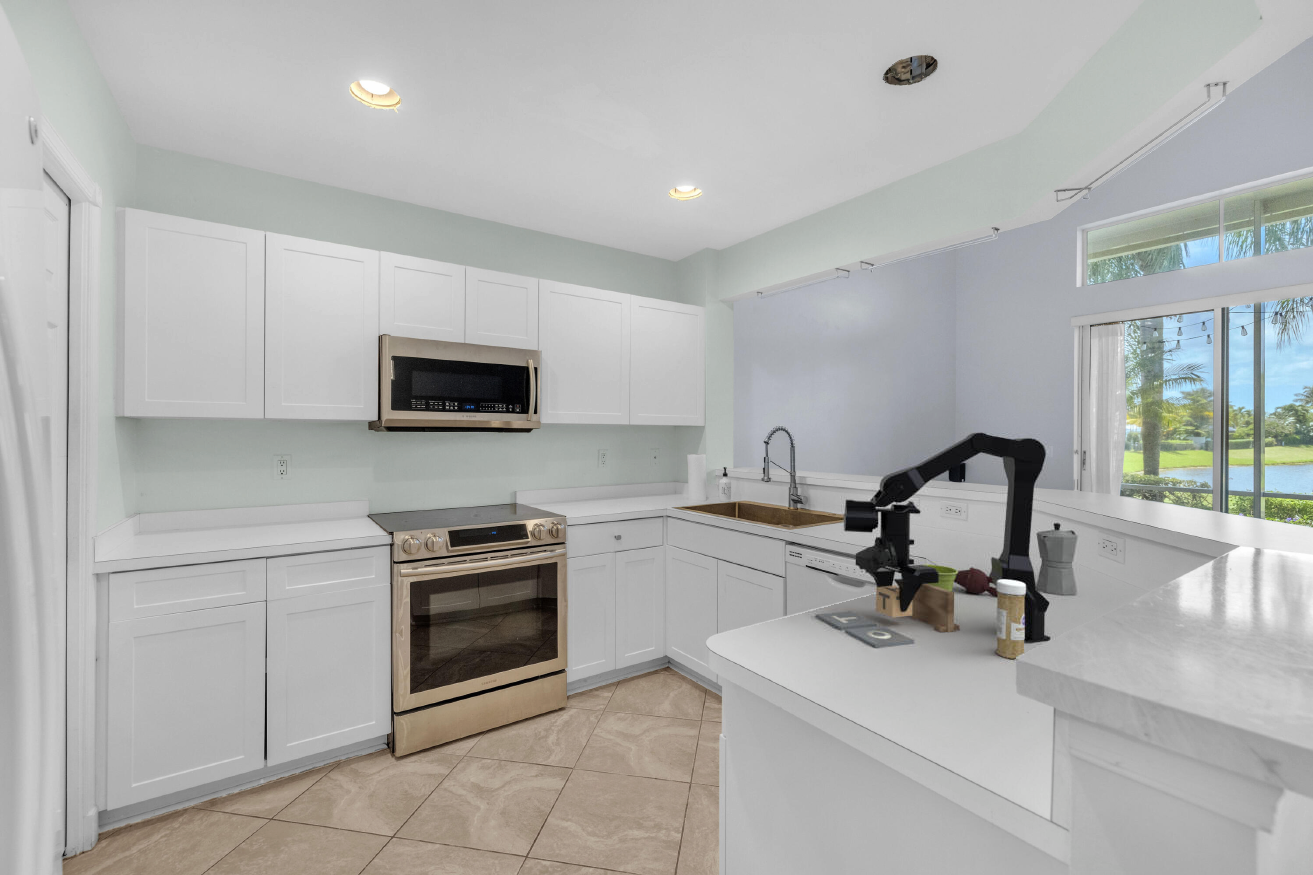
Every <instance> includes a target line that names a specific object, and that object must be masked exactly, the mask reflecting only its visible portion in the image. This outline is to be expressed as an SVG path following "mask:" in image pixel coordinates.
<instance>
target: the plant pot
mask: <svg viewBox="0 0 1313 875" xmlns="http://www.w3.org/2000/svg"><path fill="white" fill-rule="evenodd" d="M924 565H925V566H929V567H932V568H935V569H936V570H937V571H938V572H939V583H929V584H930V585H933V586H936V587H939V588H942V589H946V590H949V591H952V592H953V587H954V583H955V582H954V579H955V577H956V574H957V573H958V571H959V570H958V569H956V568H953V567H950V566H947V565H946V566H945V565H939V564H938V565H936V564H924Z"/></svg>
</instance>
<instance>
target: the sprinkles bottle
mask: <svg viewBox="0 0 1313 875" xmlns="http://www.w3.org/2000/svg"><path fill="white" fill-rule="evenodd" d="M995 588H996V590H997V594H998V595H997V597H996V598H997V600H996V602H997V603H996V604H997V606H996V637H997V638H996V650H995V652H996V654H997V655H999V656H1001V657H1004V658H1005V659H1006V658H1007V659H1012V660H1016V659H1015V658H1016V657H1018V656H1019V655H1021V654H1023V653H1024V654H1025V642H1024V639H1025V614H1024V597H1025V595H1024V594H1026V585H1025V584H1024V583H1023V582H1020V581H1015V580H1006V579H1001V580H997V585H996V587H995Z"/></svg>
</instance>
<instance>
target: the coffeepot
mask: <svg viewBox="0 0 1313 875" xmlns="http://www.w3.org/2000/svg"><path fill="white" fill-rule="evenodd" d="M1061 525H1062V524H1061V523H1059V522H1055V523H1053V529H1050V530H1043V531H1037V532H1036V539H1037V547H1038V552H1039V558H1040V559H1041V564H1040V568H1039V572H1038V579H1037V582H1036V590H1037V591H1038V592H1042V593H1045V594H1049V595H1056V596H1065V597H1068V596H1069V597H1070V596H1076V595H1077V594H1078V593H1077V592H1078V591H1077V585H1076V578H1075V575H1074V574H1075V573H1074V572H1075V571H1074V568H1073V562H1074V558H1075V553H1076V548H1077V543H1078V535H1077V534H1076V533H1075V530H1074V531H1073V530H1060V528H1061Z"/></svg>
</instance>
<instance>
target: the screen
mask: <svg viewBox="0 0 1313 875" xmlns="http://www.w3.org/2000/svg"><path fill="white" fill-rule="evenodd" d="M909 618H912V619H916V621H919V622H922V623H924V624H926V625H930V626H932V627H934V631H936V632H938V633H946V632H947V633H950V632H951V633H952V632H955V631H960V629H961V628H960V624H957V623H955V592H954V591H953V590H952V591H949V590H946V589H942V588H939V587H936V586H933V585H930V584H922V586H921V587H920V588H919V590H918V591H917V593H916V594H915V596H914V598H913V600H912V616H909Z"/></svg>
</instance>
